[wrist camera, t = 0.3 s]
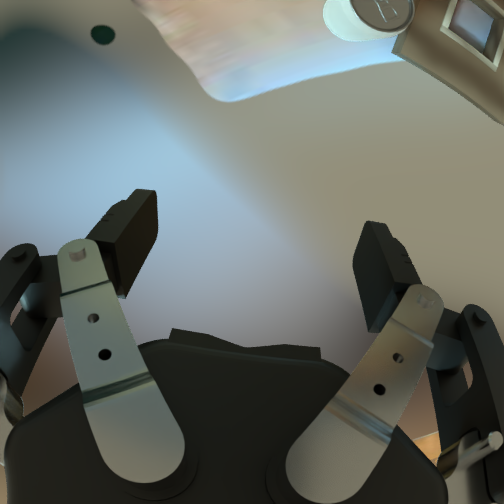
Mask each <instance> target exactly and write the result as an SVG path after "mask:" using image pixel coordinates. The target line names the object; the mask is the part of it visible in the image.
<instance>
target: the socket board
mask: <svg viewBox="0 0 504 504" xmlns="http://www.w3.org/2000/svg"><path fill="white" fill-rule="evenodd" d="M413 1H414V5H415V13H414V17H413V20H412V22H411V23H410V24H409V25H408V27H407V28H406V29H405V30H404V31H403V32H402V33H400V34H398V37H397V39H396V42H395V44H394V47H393V50H392V52H391V53H393V54H395V55H397V56H399V57H400V58H402V59H404V60H406V61H408V62H409V63H411V64H413V65H415V66H416V67H418V68H420V69H421V70H423V71H425V72H426V73H428V74H430V75H431V76H433V77H434V78H436V79H437V80H439V81H441V82H442V83H444V84H446V85H447V86H448V87H450V88H451V89H453V90H454V91H456V92H457V93H458V94H460V95H461V96H463V97H464V98H465V99H467V100H468V101H470V102H471V103H473V105H475V106H476V107H477V108H479V109H480V110H481V111H483V112H484V113H485V114H486V115H488V116H489V117H490V118H492V119H493V120H494V121H496V122H497V123H499V124H502V125H504V0H471V1H472V2H473V3H475V4H476V5H477V6H478V7H480V8H481V9H482V10H483V11H485V12H486V13H487V14H488V15H489V16H491V17H492V18H493V19H494V20H493V23H492V27H491V30H490V33H489V36H488V39H487V42H486V45H485V48H484V51H483V54H481V53H480V52H479V51H478V50H476V49H475V48H474V47H472V46H471V45H470V44H468V43H467V42H466V41H464V40H463V39H462V38H460V37H459V36H458V35H456V34H455V33H453V32H452V31H451V30H449V29H448V27H449V24H450V21H451V18H452V16H453V13H454V10H455V7H456V4H457V1H458V0H413Z"/></svg>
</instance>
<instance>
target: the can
mask: <svg viewBox="0 0 504 504" xmlns="http://www.w3.org/2000/svg"><path fill="white" fill-rule="evenodd" d="M414 13H415V5H414V1H413V0H327V1H326V3H325V5H324V8H323V18H324V21H325V23H326V25H327V27H328V28H329V30H330V31H331V32H332V33H333V34H335V35H336V36H338V37H339V38H341V39H344V40H347V41H353V42H358V41H367V40H375V39H383V38H389V37H393V36H396V35H398V34H400V33H402V32H403V31H404V30H405V29H406V28H407V27H408V25H409V24H410V23H411V22H412V20H413V17H414Z"/></svg>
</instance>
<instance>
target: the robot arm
mask: <svg viewBox="0 0 504 504" xmlns="http://www.w3.org/2000/svg"><path fill="white" fill-rule="evenodd" d="M157 234H158V211H157V195H156V192H155V190H145V189H136V190H135V191H134V192H133V193H132V194H131V195H130V196H129V197H128V199H127V200H121V201H120V202H118V203H116V204H114V205H113V206H112V207H111V208H110V209H109V210H108V211H107V212H106V215H104V216H103V217H102V218H101V221H99V222H98V223H97V224H96V225H95V227H94V228H93V229H92V230H91V231H90V233H89V234H88V235H87V237H86V238H85V239H76V240H73V241H70V242H68V243H66V244H65V245H64V246H63V247H61V248H60V250H59V252H58V254H57V255H49V256H39V253H38V250H37V248H36V246H35V245H33V244H29V243H25V244H20V245H17V246H15V247H13V248H11V249H10V250H9V251H8V252H7V253H6V254H5V255H4V256H3V257H2V259H1V260H0V464H1V465H3V466H4V468H5V474H6V482H7V504H504V345H503V343H502V341H501V339H500V336H499V334H498V331H497V329H496V327H495V325H494V322H493V320H492V318H491V317H490V315H489V314H488V313H487V312H486V311H485V310H484V309H482V308H481V307H479V306H477V305H474V304H468V305H467V306H465V308H464V309H463V311H462V312H461V314H460V313H457V312H454V311H452V310H449V309H446V308H444V303H443V300H442V299H441V297H440V296H439V294H438V293H437V292H435V291H434V290H433V289H431V288H429V287H428V286H425V285H423V284H422V282H421V280H420V278H419V276H418V274H417V272H416V269H415V267H414V265H413V264H412V261H411V259H410V257H408V256H409V255H408V253H407V251H406V249H405V247H404V246H403V245H402V244H401V243H400V242H399V241H398V240H397V239H396V238H393V237H392V235H391V233H390V231H389V229H388V227H387V225H386V224H384V223H379V222H374V221H366V223H365V224H364V227H363V230H362V233H361V236H360V239H359V241H358V244H357V247H356V250H355V253H354V256H353V271H354V275H355V279H356V283H357V286H358V291H359V295H360V299H361V302H362V307H363V311H364V315H365V320H366V324H367V329H368V332H371V333H380V334H379V335H378V337H377V338H376V340H375V341H374V343H373V344H372V346H371V347H370V349H369V350H368V351H367V353H366V354H365V356H364V357H363V359H362V360H361V361H360V363H359V364H358V366H357V367H356V368H355V370H354V371H353V372H352V374H351V375H350V374H349V373H348V372H346V371H345V370H344V369H342V368H341V367H339V366H337V365H335V364H333V363H331V362H329V361H326V360H324V359H321V352H320V347H308V346H298V345H288V344H282V345H271V346H261V347H248V348H247V347H242V346H239V345H236V344H233V343H231V342H228V341H225V340H222V339H219V338H217V337H214V336H211V335H209V334H204V333H197V332H192V331H186V330H180V329H174V328H172V330H171V333H170V336H169V339H160V340H154V341H150V342H146V343H143V344H140V345H138V346H137V345H136V342H135V340H134V338H133V335H132V333H131V331H130V328H129V326H128V323H127V321H126V319H125V316H124V314H123V311H122V309H121V306H120V303H119V301H118V298H122V299H126V297H127V295H128V292H129V291H130V289H131V287H132V285H133V283H134V281H135V279H136V277H137V275H138V273H139V271H140V269H141V267H142V265H143V264H144V262H145V260H146V258H147V256H148V254H149V252H150V250H151V249H152V247H153V245H154V243H155V241H156V238H157ZM18 301H20V303H21V306H22V309H21V310H20V312H19V314H18V315H17V317H16V319H15V320H14V322H13V324H12V326H11V325H10V317H11V313H12V311H13V310H14V308H15V306H16V304H17V303H18ZM58 317H63V318H64V323H65V328H66V333H67V337H68V342H69V346H70V350H71V355H72V358H73V362H74V366H75V370H76V373H77V377H78V381H79V383H77V384H76V385H74V386H72V387H71V388H69V389H68V390H66V391H65V392H63V393H62V394H60V395H58V396H57V397H55V398H54V399H52V400H50V401H49V402H48V403H46V404H44V405H42V406H41V407H39V408H38V409H36V410H35V411H33V412H31V413H30V414H28V415H27V416H25V417H24V416H23V412H24V407H23V406H24V405H23V401H22V398H21V396H22V393H23V391H24V389H25V386H26V384H27V382H28V379H29V377H30V374H31V372H32V370H33V368H34V366H35V363H36V361H37V359H38V357H39V354H40V352H41V350H42V348H43V346H44V344H45V342H46V340H47V338H48V336H49V334H50V332H51V330H52V328H53V326H54V324H55V322H56V320H57V318H58ZM468 361H469V364H470V367H471V370H472V374H473V381H472V385H471V387H470V388H469V389H468V385H467V382H466V378H465V375H464V371H463V367H464V365H465V364H466V363H467V362H468ZM425 366H426V369H427V373H428V378H429V382H430V387H431V392H432V397H433V402H434V407H435V413H436V419H437V424H438V431H439V438H440V445H441V454H440V455H439V457H438V460H437V467H436V466H435V465H434V464H433V463H432V462H431V461H430V460H429V459H428V458H427V456H426V455H425V454H424V453H423V452H422V451H421V450H420V449H419V448H418V447H417V446H416V445H415V444H414V442H413V441H412V440H411V439H410V438H409V437H408V436H407V435H406V434H405V433H404V432H403V431H402V430H401V428H400V427H399V426H398V425H397V422H398V421H399V419H400V417H401V415H402V413H403V411H404V409H405V407H406V405H407V404H408V402H409V399H410V397H411V396H412V394H413V391H414V390H415V387H416V385H417V383H418V381H419V379H420V377H421V375H422V372H423V370H424V368H425Z"/></svg>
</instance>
